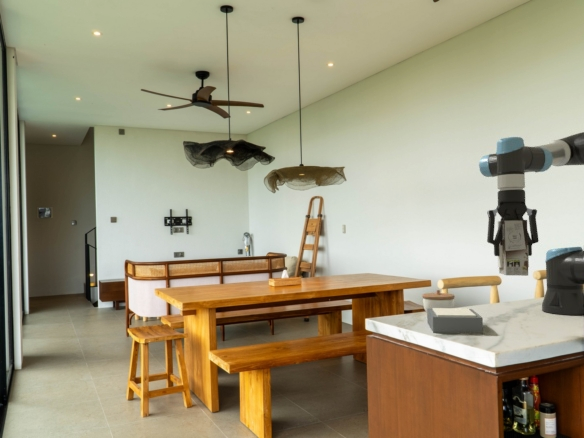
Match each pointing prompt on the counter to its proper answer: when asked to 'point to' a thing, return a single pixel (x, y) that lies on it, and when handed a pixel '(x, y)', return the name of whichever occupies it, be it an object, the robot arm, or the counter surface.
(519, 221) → the coffee box
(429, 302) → the lidded jar
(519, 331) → the counter surface
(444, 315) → the dock
